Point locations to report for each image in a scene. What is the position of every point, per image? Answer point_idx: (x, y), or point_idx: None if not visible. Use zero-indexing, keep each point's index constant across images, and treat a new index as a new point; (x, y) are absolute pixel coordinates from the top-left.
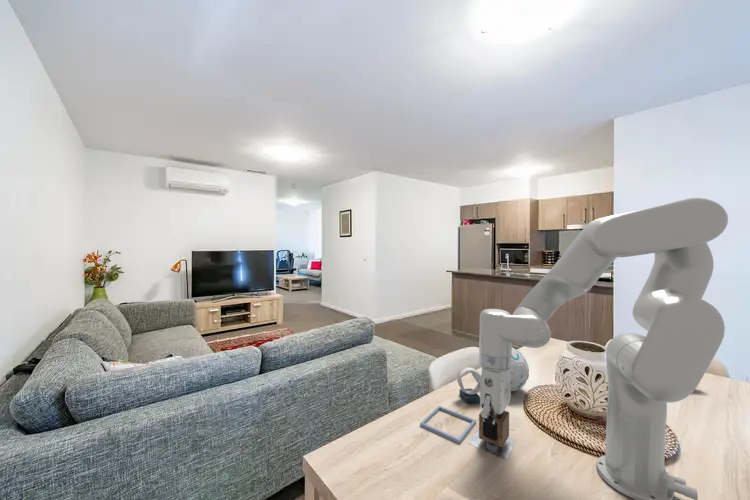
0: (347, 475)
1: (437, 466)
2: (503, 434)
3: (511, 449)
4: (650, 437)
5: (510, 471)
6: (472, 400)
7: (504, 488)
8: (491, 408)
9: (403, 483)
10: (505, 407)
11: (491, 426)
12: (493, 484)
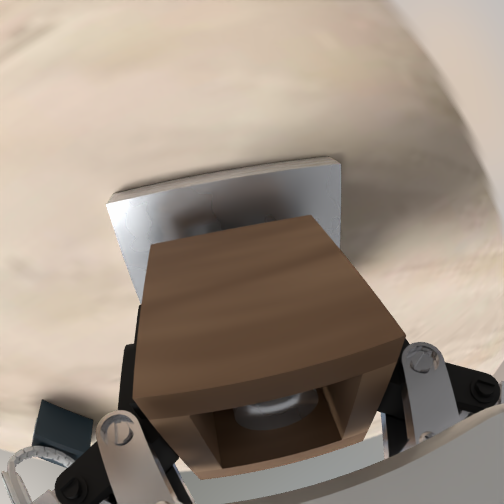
0: (495, 356)
1: (447, 308)
2: (327, 261)
3: (222, 179)
4: None
5: (352, 125)
6: (68, 436)
7: (446, 120)
8: (217, 460)
9: (499, 308)
10: (373, 492)
11: (404, 346)
12: (449, 159)
